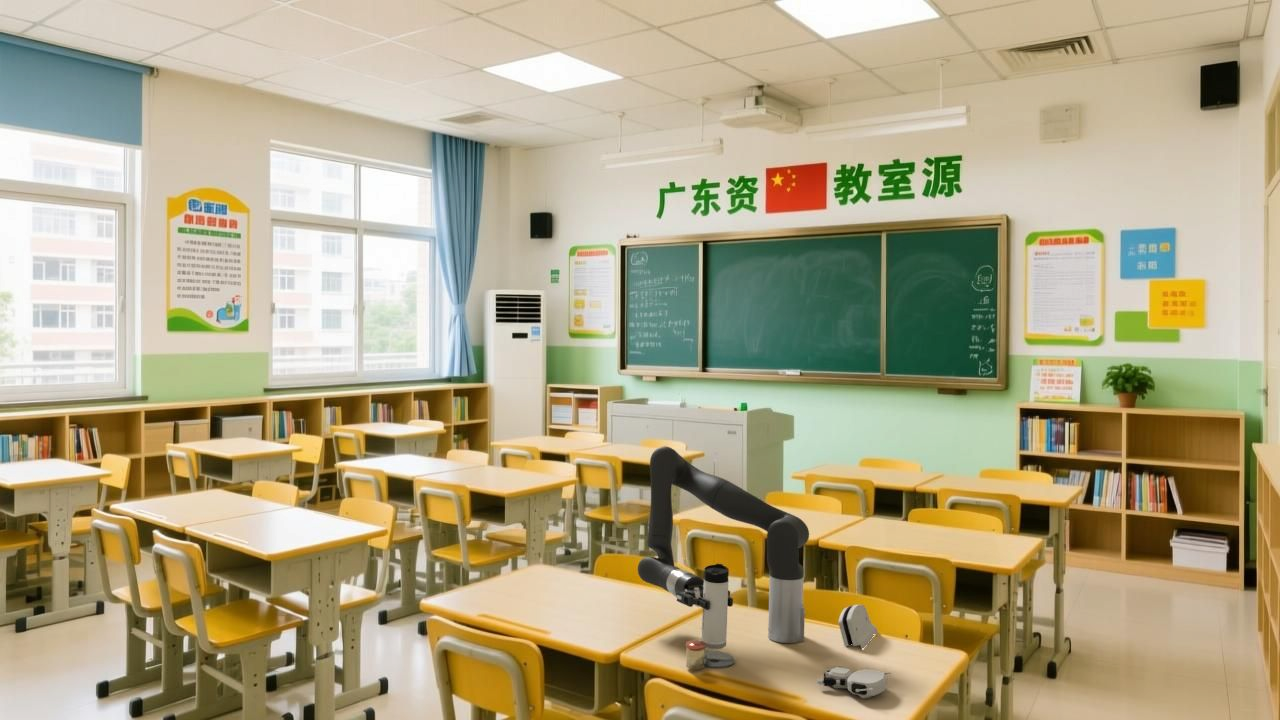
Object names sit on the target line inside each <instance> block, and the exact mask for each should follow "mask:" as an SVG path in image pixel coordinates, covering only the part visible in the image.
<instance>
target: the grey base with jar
mask: <svg viewBox="0 0 1280 720" xmlns="http://www.w3.org/2000/svg"><path fill="white" fill-rule="evenodd" d="M685 647H686V662H685V663H686V668H687V669H690V670H696V671H698V670H702V669H704V668H709V669H725V668H729V667H732V666H734V664H735V657H734V655H732V654H731V653H727V652H724V651H719V650H706V649H705V648H707V647H706V643H705V642H703V641H702V640H698V639H695V640H693V639H691V640H687V641H686V642H685Z"/></svg>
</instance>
